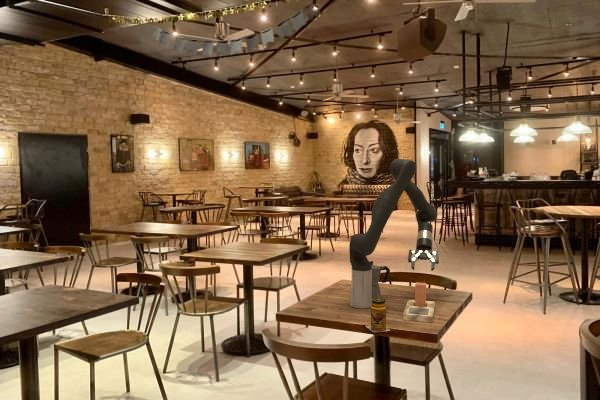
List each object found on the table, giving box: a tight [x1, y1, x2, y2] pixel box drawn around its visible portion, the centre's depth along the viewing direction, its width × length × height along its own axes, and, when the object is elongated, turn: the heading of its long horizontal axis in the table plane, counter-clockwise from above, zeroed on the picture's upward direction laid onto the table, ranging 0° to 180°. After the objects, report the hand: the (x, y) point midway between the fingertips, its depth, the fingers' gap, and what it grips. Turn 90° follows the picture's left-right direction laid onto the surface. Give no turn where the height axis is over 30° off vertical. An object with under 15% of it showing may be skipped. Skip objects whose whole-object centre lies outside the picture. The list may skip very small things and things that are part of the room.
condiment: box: [365, 298, 391, 333], centre depth 205 cm, size 7×8×12 cm
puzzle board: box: [402, 299, 436, 323], centre depth 226 cm, size 12×24×3 cm, turn 163°
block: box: [414, 281, 427, 307], centre depth 230 cm, size 4×4×12 cm
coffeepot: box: [369, 260, 391, 300], centre depth 252 cm, size 15×9×18 cm, turn 82°
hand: (422, 269), depth 241 cm, fingers open, 8 cm apart
